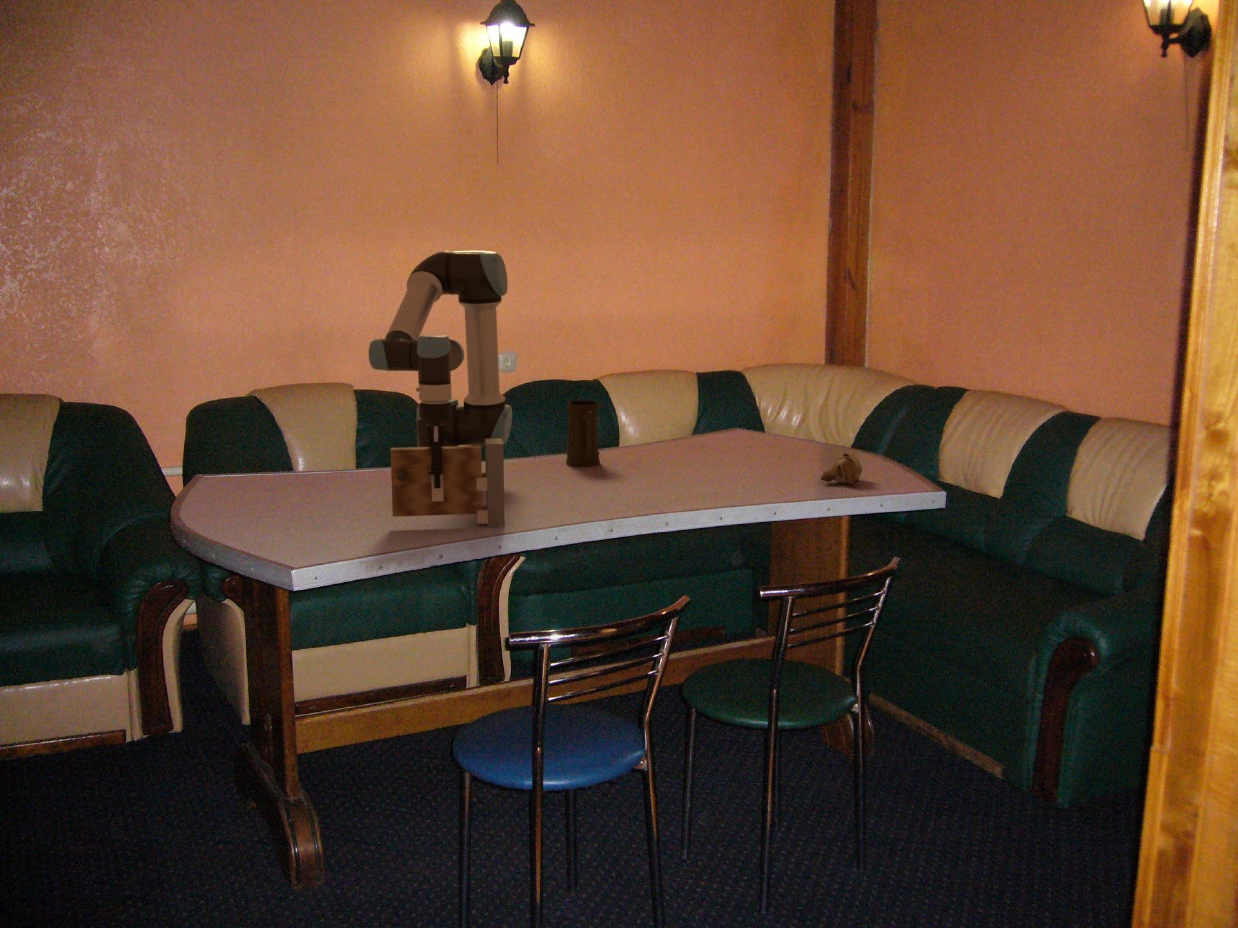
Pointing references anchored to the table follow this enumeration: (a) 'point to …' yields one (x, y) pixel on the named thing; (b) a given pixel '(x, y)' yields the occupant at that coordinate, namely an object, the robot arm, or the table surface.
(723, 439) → the table surface
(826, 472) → the ceramic sculpture
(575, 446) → the beer stein
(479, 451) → the door
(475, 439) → the robot arm
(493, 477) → the cabinet side
